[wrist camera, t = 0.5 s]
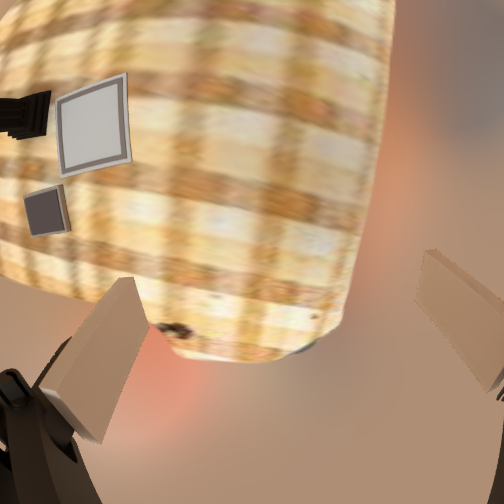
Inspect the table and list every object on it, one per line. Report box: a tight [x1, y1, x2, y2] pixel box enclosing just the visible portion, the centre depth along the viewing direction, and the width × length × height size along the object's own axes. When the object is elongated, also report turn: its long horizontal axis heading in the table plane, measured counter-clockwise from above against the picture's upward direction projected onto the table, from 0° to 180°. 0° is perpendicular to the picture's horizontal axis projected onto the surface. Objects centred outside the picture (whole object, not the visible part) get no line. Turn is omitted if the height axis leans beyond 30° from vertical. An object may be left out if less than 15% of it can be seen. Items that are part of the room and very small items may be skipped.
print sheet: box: [55, 73, 132, 178], centre depth 32 cm, size 14×14×1 cm
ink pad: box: [23, 184, 71, 238], centre depth 36 cm, size 8×10×2 cm
